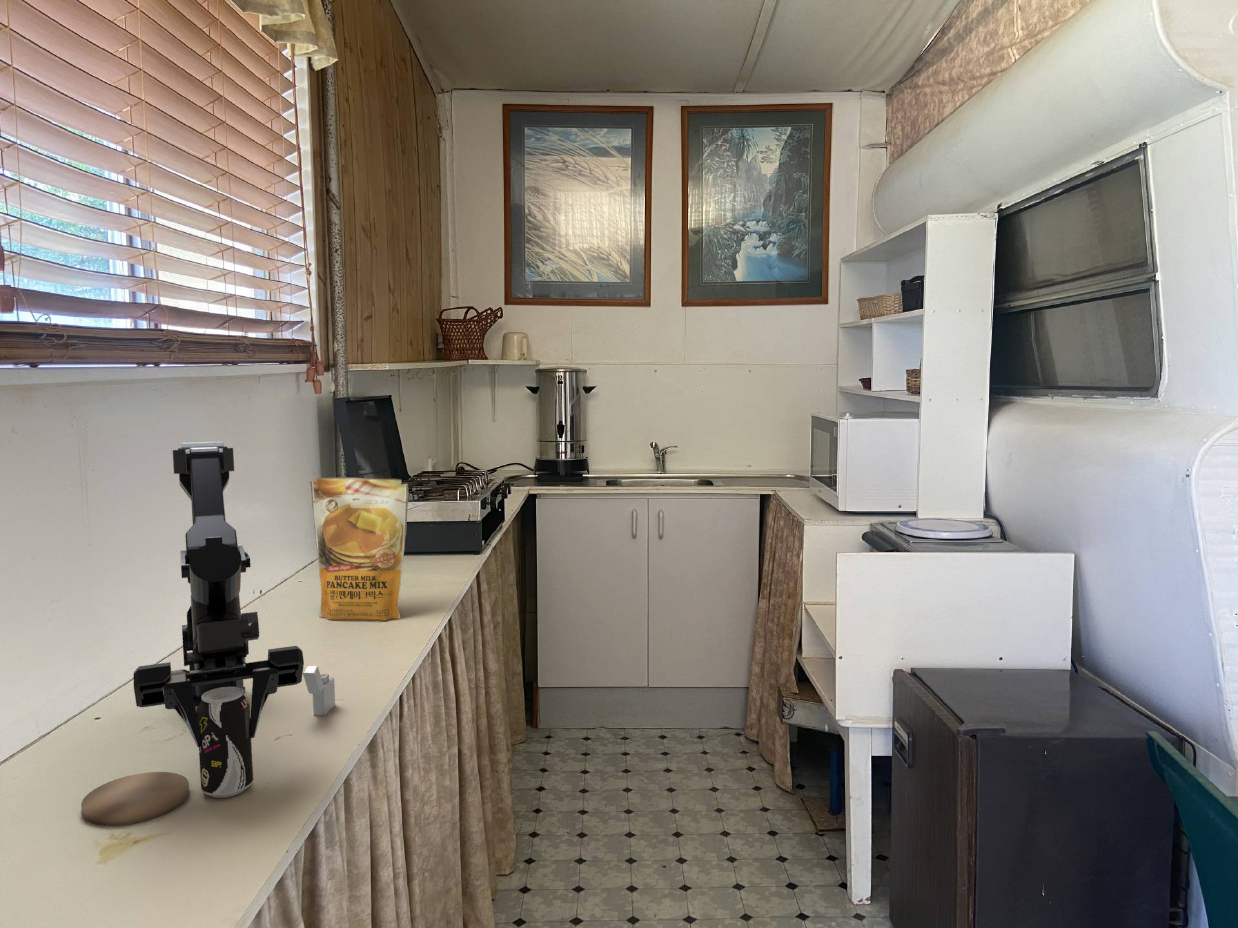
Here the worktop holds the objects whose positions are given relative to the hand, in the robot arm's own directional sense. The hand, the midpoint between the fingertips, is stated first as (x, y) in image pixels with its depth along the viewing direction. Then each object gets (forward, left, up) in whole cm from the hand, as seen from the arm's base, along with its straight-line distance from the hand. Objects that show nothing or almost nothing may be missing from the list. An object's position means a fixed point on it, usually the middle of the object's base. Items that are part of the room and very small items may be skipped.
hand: (226, 741), depth 106 cm
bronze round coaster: (-10, -2, -7) cm, 12 cm away
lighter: (+2, +25, -7) cm, 26 cm away
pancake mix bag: (-7, +75, -7) cm, 75 cm away
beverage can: (-1, +1, -7) cm, 7 cm away
